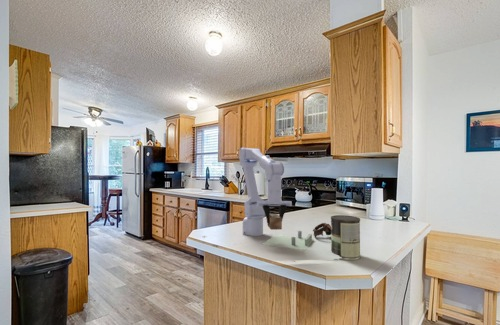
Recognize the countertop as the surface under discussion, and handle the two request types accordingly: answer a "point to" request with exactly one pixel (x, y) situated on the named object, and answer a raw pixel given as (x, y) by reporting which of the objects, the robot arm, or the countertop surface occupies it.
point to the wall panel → (290, 241)
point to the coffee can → (345, 237)
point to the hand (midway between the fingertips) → (274, 223)
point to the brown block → (275, 222)
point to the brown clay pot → (322, 229)
